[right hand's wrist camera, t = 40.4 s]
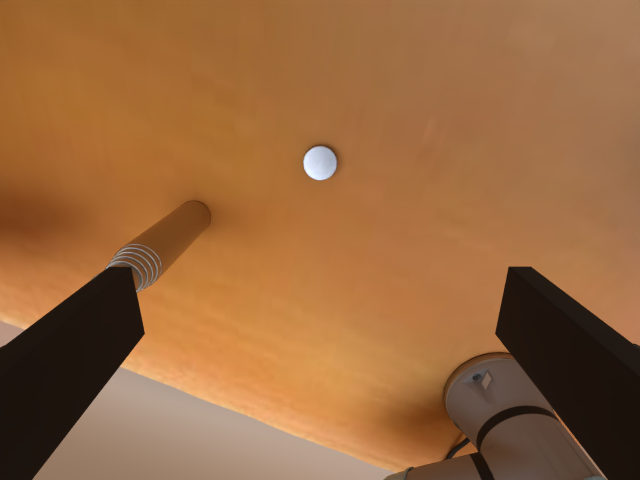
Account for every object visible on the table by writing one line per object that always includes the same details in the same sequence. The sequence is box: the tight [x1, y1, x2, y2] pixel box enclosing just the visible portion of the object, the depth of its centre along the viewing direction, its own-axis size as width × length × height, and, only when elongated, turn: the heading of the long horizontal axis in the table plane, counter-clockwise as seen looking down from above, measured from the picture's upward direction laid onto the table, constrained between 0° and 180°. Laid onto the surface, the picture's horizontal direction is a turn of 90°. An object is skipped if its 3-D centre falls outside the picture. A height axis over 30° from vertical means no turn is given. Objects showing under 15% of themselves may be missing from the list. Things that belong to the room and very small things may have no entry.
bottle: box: [93, 201, 211, 293], centre depth 38 cm, size 4×4×21 cm
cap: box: [303, 145, 337, 180], centre depth 44 cm, size 4×4×2 cm
